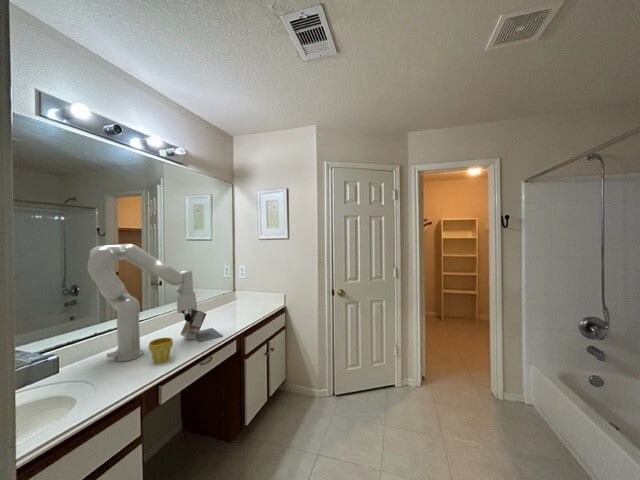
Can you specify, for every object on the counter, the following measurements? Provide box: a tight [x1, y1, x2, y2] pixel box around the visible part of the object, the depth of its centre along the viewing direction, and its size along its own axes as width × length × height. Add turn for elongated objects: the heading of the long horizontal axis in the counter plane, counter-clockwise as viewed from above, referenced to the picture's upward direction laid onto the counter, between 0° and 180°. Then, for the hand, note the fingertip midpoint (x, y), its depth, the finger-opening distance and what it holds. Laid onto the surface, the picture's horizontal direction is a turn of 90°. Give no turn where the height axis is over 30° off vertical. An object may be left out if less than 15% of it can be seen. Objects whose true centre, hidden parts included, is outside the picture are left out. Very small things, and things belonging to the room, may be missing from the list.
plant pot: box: [148, 337, 174, 364], centre depth 136 cm, size 10×10×10 cm
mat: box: [195, 327, 224, 343], centre depth 170 cm, size 14×20×1 cm
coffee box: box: [180, 309, 207, 341], centre depth 166 cm, size 9×6×16 cm
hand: (187, 320), depth 163 cm, fingers closed
